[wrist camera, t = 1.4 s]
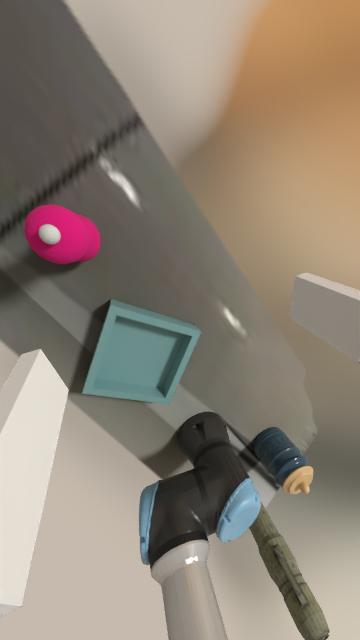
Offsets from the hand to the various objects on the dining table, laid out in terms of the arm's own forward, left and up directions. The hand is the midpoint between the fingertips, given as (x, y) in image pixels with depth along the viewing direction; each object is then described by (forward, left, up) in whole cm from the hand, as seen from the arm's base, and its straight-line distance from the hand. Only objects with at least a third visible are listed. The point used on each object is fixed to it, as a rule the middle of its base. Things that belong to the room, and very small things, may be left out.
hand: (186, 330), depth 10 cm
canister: (-42, -65, -34) cm, 84 cm away
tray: (-18, -8, -34) cm, 39 cm away
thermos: (-65, -65, -34) cm, 98 cm away
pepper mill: (+1, +10, -34) cm, 35 cm away
